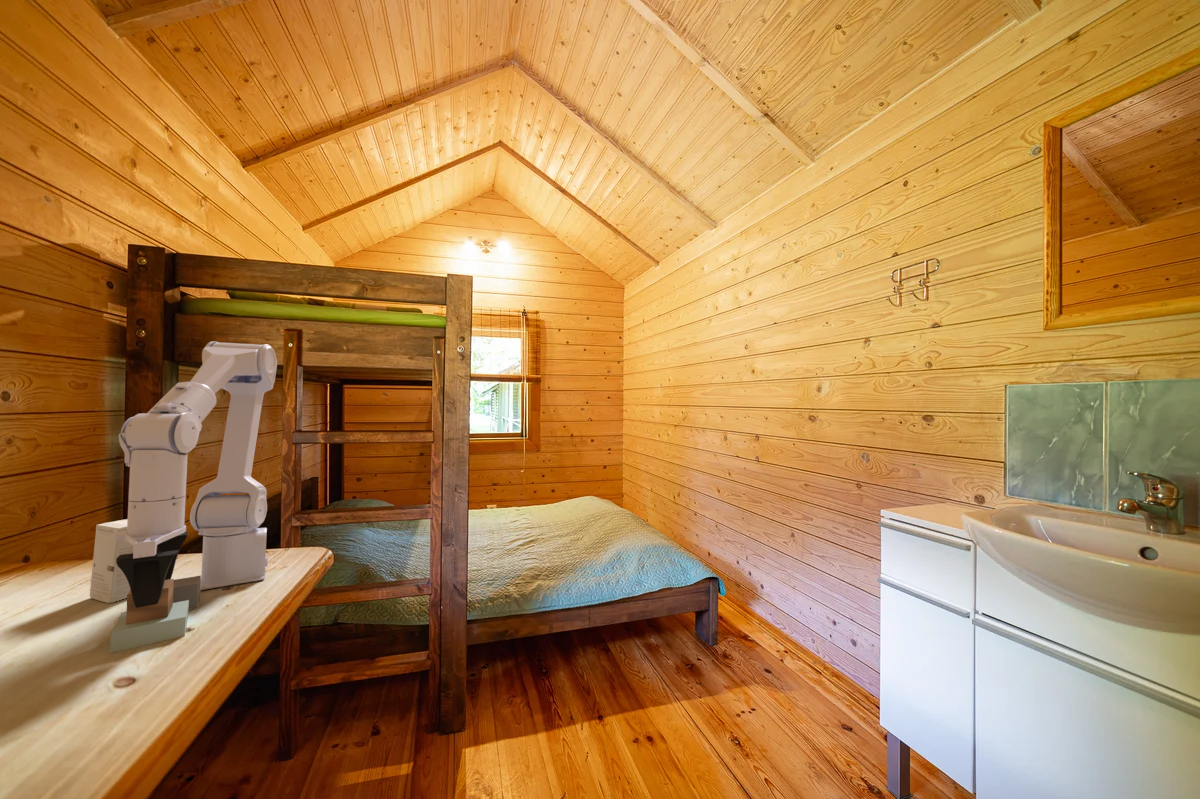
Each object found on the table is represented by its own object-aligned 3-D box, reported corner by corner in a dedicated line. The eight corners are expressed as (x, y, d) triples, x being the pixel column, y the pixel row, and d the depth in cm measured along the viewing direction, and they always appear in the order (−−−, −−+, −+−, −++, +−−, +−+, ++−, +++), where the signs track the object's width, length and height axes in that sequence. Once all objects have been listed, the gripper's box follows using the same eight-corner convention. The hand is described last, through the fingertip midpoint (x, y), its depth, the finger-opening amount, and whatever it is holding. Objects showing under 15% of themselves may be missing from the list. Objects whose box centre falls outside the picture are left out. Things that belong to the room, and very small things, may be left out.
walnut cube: (172, 606, 64) (173, 578, 64) (167, 616, 61) (168, 587, 61) (133, 613, 62) (134, 584, 62) (126, 624, 59) (127, 594, 59)
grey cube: (199, 599, 73) (200, 575, 73) (196, 608, 69) (197, 583, 70) (166, 606, 70) (167, 580, 70) (161, 615, 67) (162, 589, 67)
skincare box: (87, 598, 72) (91, 524, 72) (124, 588, 76) (127, 518, 77) (110, 604, 70) (114, 528, 70) (146, 593, 74) (150, 521, 75)
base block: (187, 620, 66) (188, 599, 67) (184, 638, 61) (185, 616, 61) (119, 634, 62) (121, 612, 62) (109, 655, 57) (111, 632, 57)
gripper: (130, 492, 65) (125, 584, 65) (100, 511, 54) (94, 623, 53) (194, 488, 70) (190, 574, 69) (179, 505, 58) (174, 608, 58)
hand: (153, 595), depth 62 cm, fingers open, 7 cm apart
